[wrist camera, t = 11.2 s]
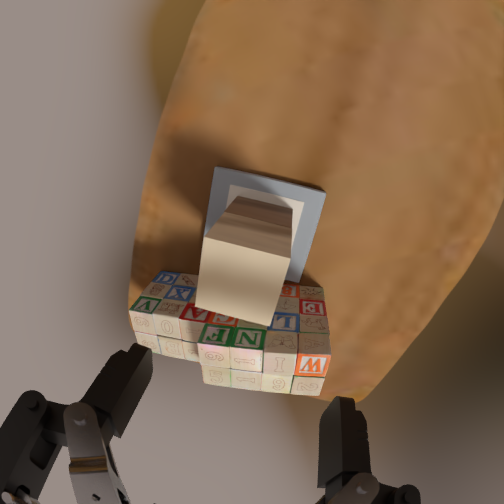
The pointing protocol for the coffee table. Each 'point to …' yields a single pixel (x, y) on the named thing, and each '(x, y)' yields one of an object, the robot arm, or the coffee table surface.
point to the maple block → (243, 268)
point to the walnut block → (261, 211)
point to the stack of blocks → (238, 336)
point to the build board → (275, 192)
